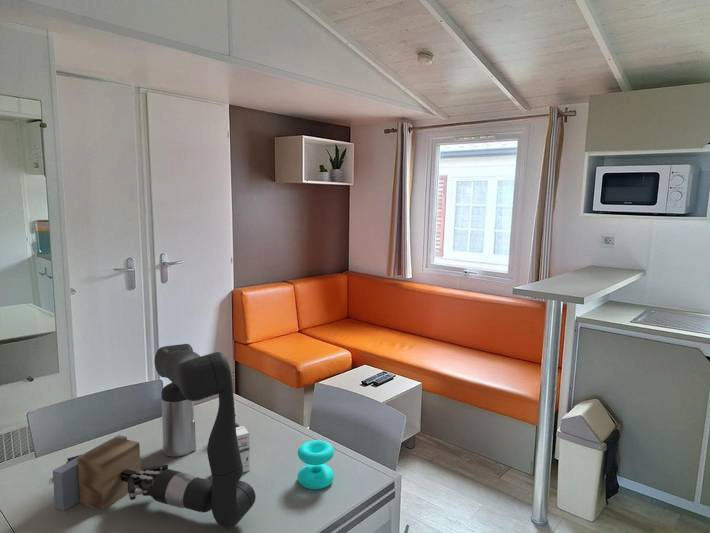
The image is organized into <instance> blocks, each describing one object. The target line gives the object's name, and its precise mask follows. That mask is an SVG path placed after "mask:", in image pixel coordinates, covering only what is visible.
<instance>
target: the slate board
mask: <svg viewBox="0 0 710 533" xmlns="http://www.w3.org/2000/svg"><path fill="white" fill-rule="evenodd" d="M116 437H118V438H122V439H127V440H128V437H127V436H125V435H120V434H117V435H116V436H114V437H112V438H110V439H109V440H107V441H105V442H103V443H101V444H99V445H98V446H95V447H93V448H92V449H90V450H88V451H87V452H85V453H82V454H80V455H81V456H83V455H85V454H87V453H88V452H90V451H92V450H94V449H96V448H98V447H99V446H101V445H103V444H105V443H107V442H108V441H110V440H112V439H114V438H116ZM81 456H79V457H81ZM79 457H77V458H75V459H73V460H71V461H69V462H68V463H66V462H65V463H64V464H62V465H61V466H58V467H57V468H55V469H53V470H52V479H53V480H52V481H53V495H54V496H53V497H54V500H53V501H54V509H56V510H58V511H62V512H66V511H67V510H68V509H70V508H71V507H72V506H74V505H76V504H77V503H80V493H79V476H78V458H79Z"/></svg>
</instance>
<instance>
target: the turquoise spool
mask: <svg viewBox="0 0 710 533" xmlns="http://www.w3.org/2000/svg"><path fill="white" fill-rule="evenodd" d="M334 455H335V450H334V447H333V445H332V444H331V443H329V442H328V441H325V440H320V439H314V440H308V441H305V442H304V443H303V442H302V444H301V445H300V446H299V448H298V449H297V457H298V459H299V460H300V461H301V462H303V463H304V464H306V465H304V466H303V467H301V468H300V470H299V471H298V473H297V481H298V483H299V484H300V485H301V486H302V487H304V488H306V489H309V490H321V489H325V488H326V487H328V486H330V484H332V482H333V481H334V477H335V474H334V471H333V469H332V468H331V466H329V465H327V463H329V462H330V461H331V460H332V458H334Z"/></svg>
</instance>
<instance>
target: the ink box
mask: <svg viewBox="0 0 710 533" xmlns="http://www.w3.org/2000/svg"><path fill="white" fill-rule="evenodd" d="M236 435H237V441H238V446H239V451H240V456H241V461H242V466H243V473H242V474H244V473H246V472H249V471H251V465H250V464H251V459H250V458H251V455H250V450H251V449H250V432H249V430H248V429H247V428H246V427H245V426H244V425H241V426H240V425H239V427H236Z"/></svg>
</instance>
